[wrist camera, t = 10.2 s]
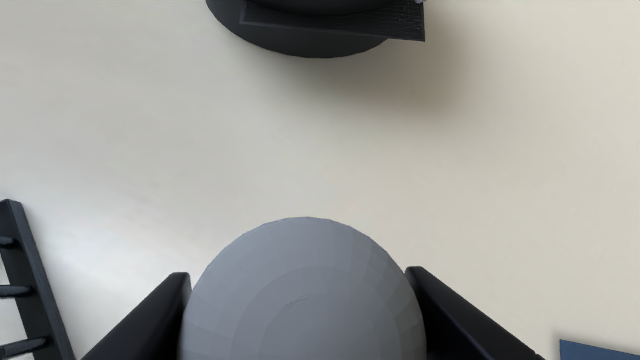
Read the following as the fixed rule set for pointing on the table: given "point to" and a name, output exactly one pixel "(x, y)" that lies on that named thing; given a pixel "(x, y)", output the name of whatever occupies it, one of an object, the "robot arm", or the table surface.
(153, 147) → the table surface
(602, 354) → the rubber mat
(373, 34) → the dark grey stacked discs
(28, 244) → the drying rack
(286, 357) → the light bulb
